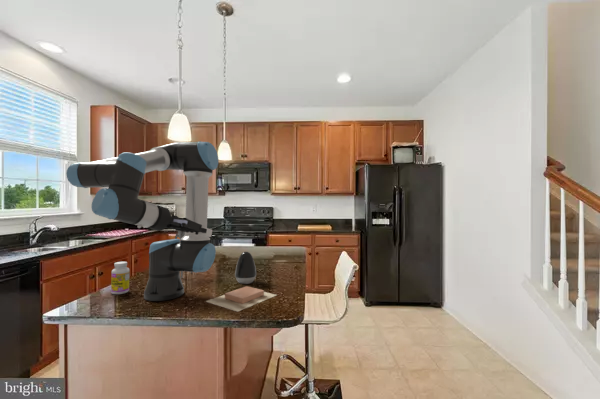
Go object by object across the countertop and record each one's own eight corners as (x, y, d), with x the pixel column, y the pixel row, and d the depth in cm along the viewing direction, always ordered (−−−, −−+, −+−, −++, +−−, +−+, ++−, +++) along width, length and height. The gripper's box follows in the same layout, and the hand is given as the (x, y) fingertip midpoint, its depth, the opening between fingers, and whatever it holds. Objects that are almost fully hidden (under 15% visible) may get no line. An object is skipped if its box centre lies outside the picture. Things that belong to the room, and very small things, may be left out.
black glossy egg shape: (255, 279, 143) (255, 249, 143) (256, 285, 133) (257, 253, 133) (235, 280, 141) (235, 250, 141) (234, 286, 131) (235, 253, 131)
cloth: (237, 313, 98) (237, 311, 98) (205, 303, 109) (205, 301, 109) (277, 296, 117) (277, 294, 117) (246, 289, 127) (246, 287, 127)
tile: (242, 298, 106) (263, 290, 116) (224, 293, 112) (246, 286, 121) (242, 304, 106) (263, 295, 116) (224, 298, 112) (246, 291, 121)
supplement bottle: (107, 294, 118) (107, 264, 118) (118, 289, 125) (118, 260, 125) (122, 295, 118) (123, 264, 118) (132, 290, 125) (133, 261, 125)
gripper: (136, 228, 88) (196, 243, 107) (161, 227, 81) (220, 243, 100) (143, 206, 90) (200, 224, 109) (167, 203, 84) (224, 223, 103)
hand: (210, 233), depth 105 cm, fingers closed
